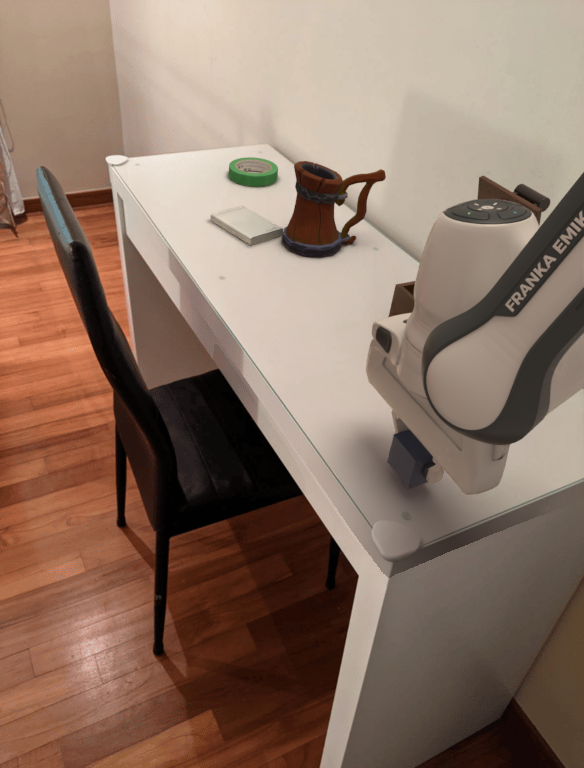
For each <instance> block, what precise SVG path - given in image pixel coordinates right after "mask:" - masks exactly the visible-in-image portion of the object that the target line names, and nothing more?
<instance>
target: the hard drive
mask: <svg viewBox="0 0 584 768" xmlns="http://www.w3.org/2000/svg"><path fill="white" fill-rule="evenodd" d="M209 216H210V220H209V221H211V222H212V223H214V224H216V225H217V226H219V227H220V228H222V229H224V230H225V231H226V232H228V233H230V234H232V235H233V236H235V237H237V238H238V239H240V240H241V241H243V242H245V244H248V245H250V246H253V245H256V244H261V243H263V242H267V241H269V240H272V239H275V238H278V237H282V235H283V231H284V228H282V226H279V225H277V224H275V223H274V222H272V221H270V220H269V219H267V218H265V217H263V216H262V215H260V214H258V213H256V212H255V211H253V210H251V209H249V208H248V207H246V206H244V205H239V206H235V207H231V208H228V209H224V210H220V211H217V212H213V213H211V214H210V215H209Z"/></svg>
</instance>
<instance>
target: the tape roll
mask: <svg viewBox="0 0 584 768" xmlns="http://www.w3.org/2000/svg"><path fill="white" fill-rule="evenodd" d="M278 176H279V167H278V165H277V164H276V163H275V162H273V161H271V160H270V159H266V158H261V157H251V156H250V157H249V156H247V157H240V158H239V157H238V158H236V159H234V160H232V161H230V162H229V164H228V178H229V180H230V181H232V182H233V183H235V184H237V185H240V186H245V187H250V188H261V187H262V188H263V187H268V186H271V185H274V184H275V183H276V182H278Z"/></svg>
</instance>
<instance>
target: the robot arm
mask: <svg viewBox="0 0 584 768" xmlns="http://www.w3.org/2000/svg"><path fill="white" fill-rule="evenodd" d="M477 199H478V198H477ZM477 199H471V200H466V201H463V202H459V203H457V204H455V205H452V206H449V207H447V208H446V209H444V210H443V211H442V212H440V214H439V215H438V217H437V218H436V220H435V221H434V223H433V225H432V227H431V229H430V232H429V234H428V236H427V239H426V242H425V244H424V248H423V251H422V254H421V258H420V262H419V264H418V270H417V272H416V277H415V280H414V281H415V285H414V302H415V303H414V309H413V312H412V313H406V314H401V315H396V316H391V317H389V316H388V317H387V316H386V317H384V318H380V319H377V320H375V321H374V322H373V323H372V328H371V336H372V339H371V341H370V344H369V347H368V351H367V357H366V365H365V373H366V377H367V380H368V383H369V384H370V385H371V387H373V388H374V390H375V391H376V392H377V393H378V394H379V396H381V398H382V399H383V400H384V401H385V403H386V404H387V405H388V406H389V407H390V408H391V409H392V410H391V418H392V423H393V427H394V432H393V435H394V434H397V433H400V432H404V431H407V430H411V432H412V433H413V434H414V435H415V436H416V437H417V439H418V440H419V441H420V442H421V443H422V444H423V446H424V447H425V448H426V449H427V450H428V451H429V453H430V454H431V455H432V456H433V462H432V463H427V464H424V466H423V471H422V475H423V476H424V478H425V479H426V480H427V481H428V482H427V483H428V484H431V485H432V484H433V483H438V482H439V481H441V480H442V479H443V476H444V473H446V474H447V475H448V476H449V478H450V479H451V480H452V481H453V482H454V483H455V484H456V486H457V487H458V488H459V489H460V490H461V492H463V494H465V495H468V496H472V495H473V496H474V495H480V494H483V493H486V492H489V491H490V490H493V489H495V488H496V487H498V486H499V484H501V481H502V480H503V479H502V478H503V476H504V472H505V470H506V469H505V468H506V465H507V460H508V457H509V451H510V446H511V445H512V444H516V443H517V442H520V441H521V440H523V439H524V438H525V437H526V436H527V435H528V434H530V433H531V431H533V430H534V428H536V427H537V426H538V425H540V423H541V422H542V421H543V420H544V419H545V418H546V416H548V415H549V414H551V413H552V412H553V411H554V410H556V409H558V407H561V405H562V404H564V403H565V402H567V401H568V400H569V399H571V398H572V397H573V396H575V395H576V394H577V393H579V392H580V391H581V390H582V389H584V171H583V172H582V173H581V174H580V176H579V177H578V178H577V180H576V181H575V182H574V183H573V184H572V186H571V187H570V188H569V189H568V191H567V192H566V193H565V194H564V196H563V197H562V198H561V199H560V201H559V202H558V203H557V205H556V206H555V207H554V209H553V210H551V212H550V213H549V215H548V216H547V217H546V219H545V220H544V221H543V223H542V224H540V226H539V224H538V222H537V219H536V217H535V215H534V214H533V213H532V212H531V211H530V210H529V209H528V208H526V207H524V206H522V205H520V204H518V203H515V202H511V201H506V200H498V199H482V200H477Z"/></svg>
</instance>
